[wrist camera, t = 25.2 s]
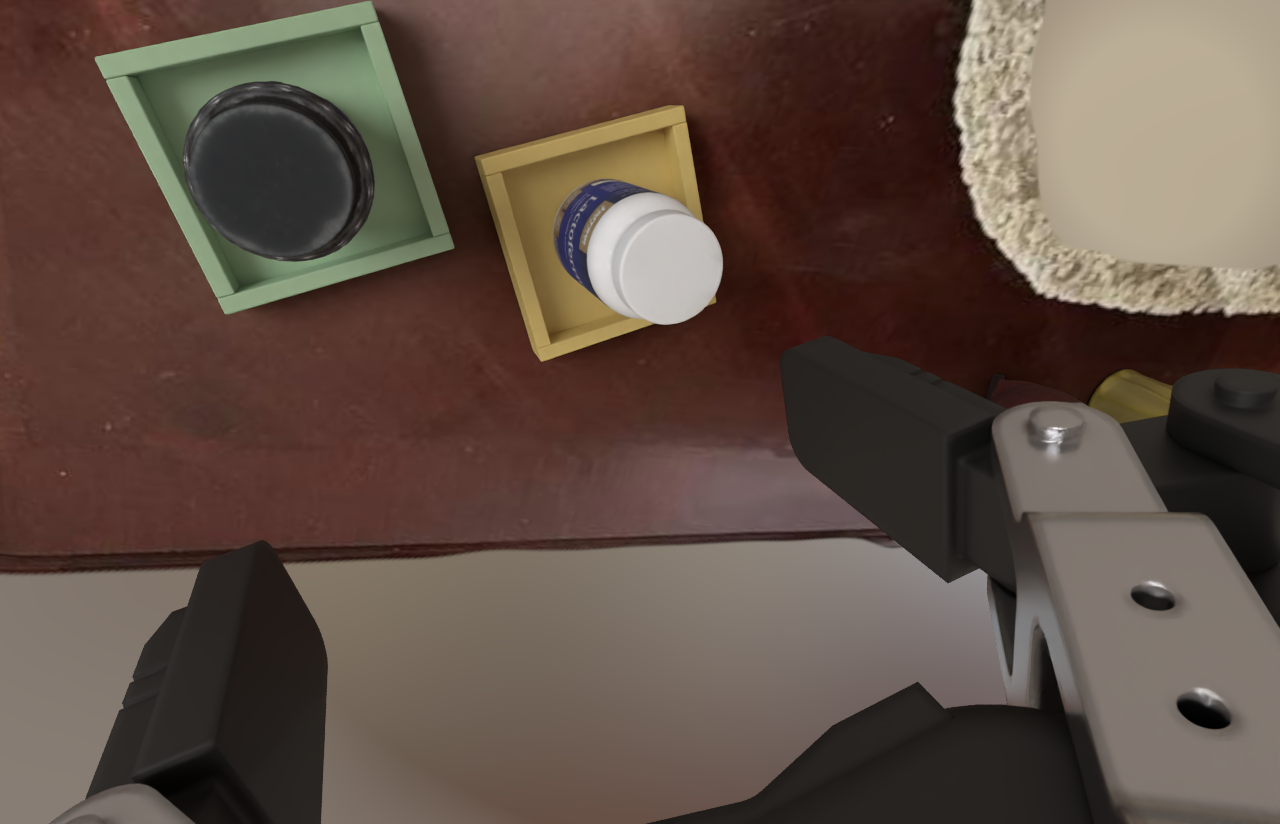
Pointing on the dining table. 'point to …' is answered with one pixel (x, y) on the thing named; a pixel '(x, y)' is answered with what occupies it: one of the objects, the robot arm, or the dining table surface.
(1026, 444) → the robot arm
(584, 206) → the pill bottle
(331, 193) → the pill bottle
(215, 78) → the green tray
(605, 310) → the yellow tray
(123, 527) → the dining table surface
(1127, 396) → the vase
